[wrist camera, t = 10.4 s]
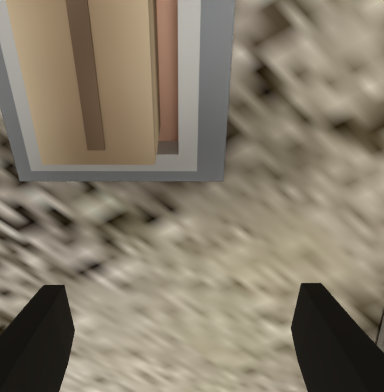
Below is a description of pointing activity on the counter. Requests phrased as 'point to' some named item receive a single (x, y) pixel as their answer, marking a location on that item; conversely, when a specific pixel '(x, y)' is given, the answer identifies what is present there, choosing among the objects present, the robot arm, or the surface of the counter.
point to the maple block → (90, 78)
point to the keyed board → (169, 100)
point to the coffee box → (381, 337)
